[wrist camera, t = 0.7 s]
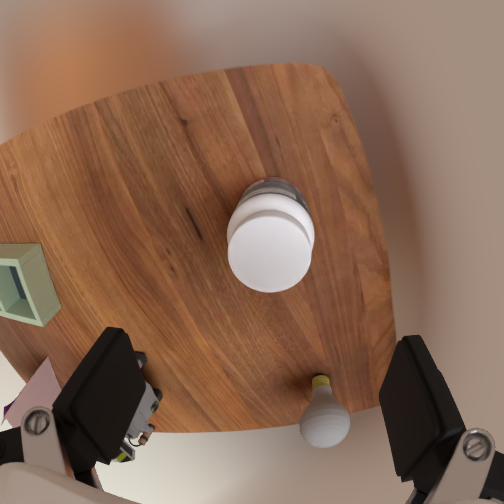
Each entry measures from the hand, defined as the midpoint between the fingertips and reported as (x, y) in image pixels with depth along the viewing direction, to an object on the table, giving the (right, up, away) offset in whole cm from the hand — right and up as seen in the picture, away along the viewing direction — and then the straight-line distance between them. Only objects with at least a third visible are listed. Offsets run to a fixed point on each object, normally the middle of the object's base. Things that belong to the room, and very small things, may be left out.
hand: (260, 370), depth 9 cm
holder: (-35, +1, +23) cm, 42 cm away
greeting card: (-37, -19, +32) cm, 53 cm away
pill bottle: (+2, +8, +16) cm, 18 cm away
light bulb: (+8, -11, +24) cm, 28 cm away
